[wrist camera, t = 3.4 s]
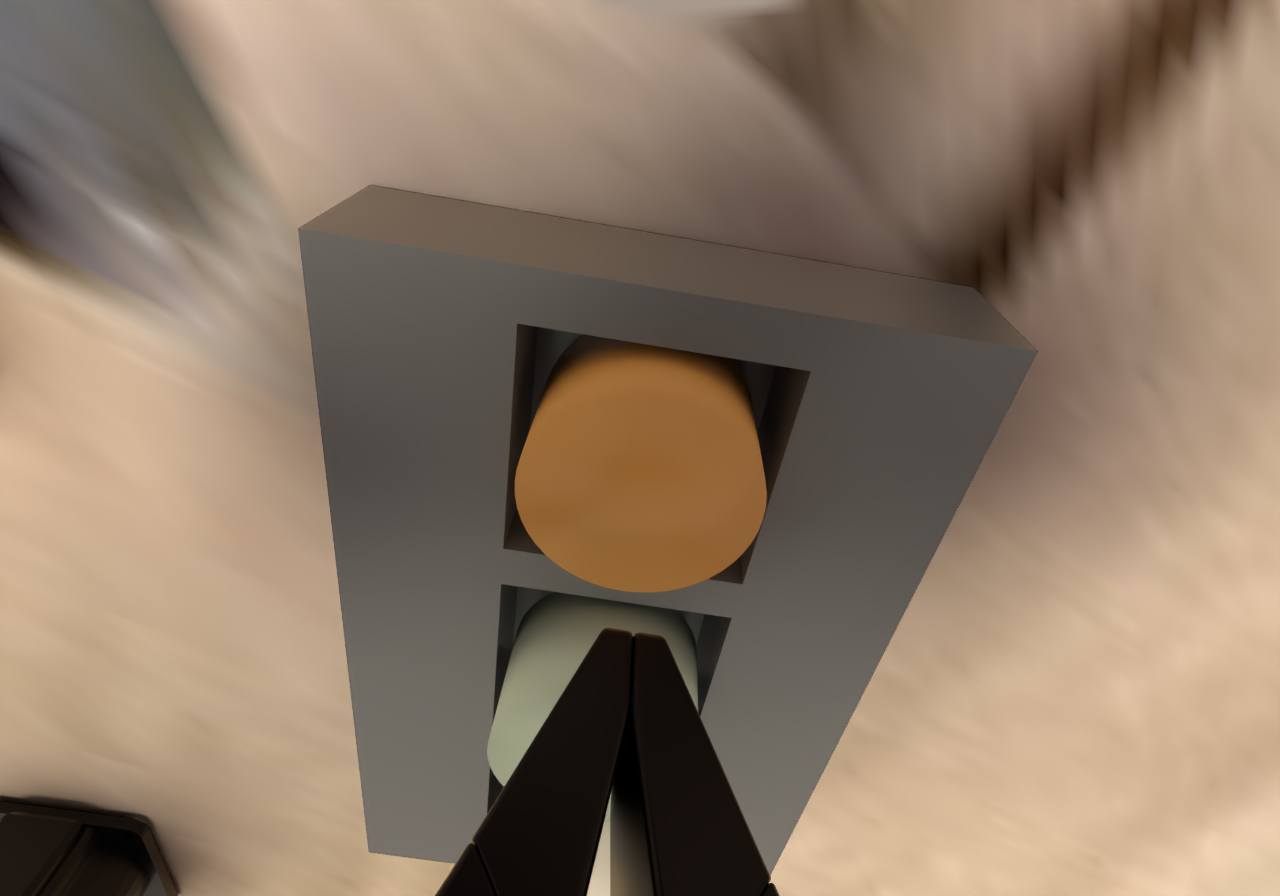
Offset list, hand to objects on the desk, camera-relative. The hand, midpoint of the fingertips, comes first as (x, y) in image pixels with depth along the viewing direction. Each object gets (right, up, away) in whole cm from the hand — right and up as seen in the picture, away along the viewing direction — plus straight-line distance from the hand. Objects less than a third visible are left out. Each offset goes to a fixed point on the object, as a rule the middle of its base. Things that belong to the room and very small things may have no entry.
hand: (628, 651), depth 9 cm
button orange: (0, +3, +5) cm, 6 cm away
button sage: (-1, -2, +8) cm, 8 cm away
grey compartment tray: (-1, -1, +9) cm, 9 cm away
